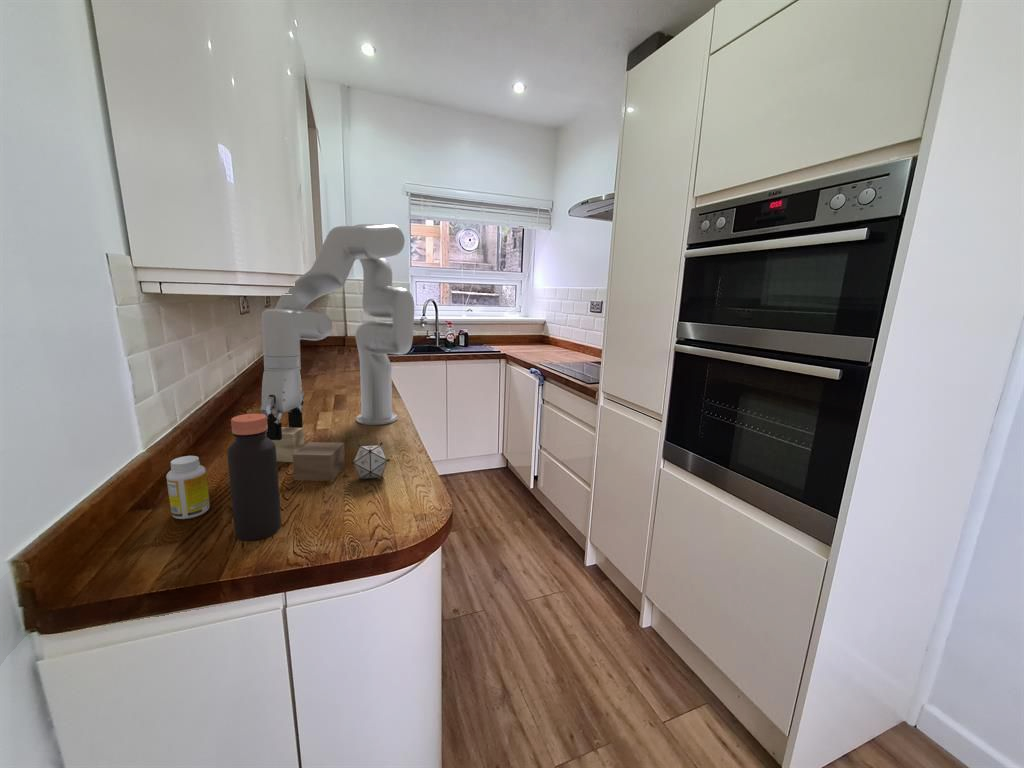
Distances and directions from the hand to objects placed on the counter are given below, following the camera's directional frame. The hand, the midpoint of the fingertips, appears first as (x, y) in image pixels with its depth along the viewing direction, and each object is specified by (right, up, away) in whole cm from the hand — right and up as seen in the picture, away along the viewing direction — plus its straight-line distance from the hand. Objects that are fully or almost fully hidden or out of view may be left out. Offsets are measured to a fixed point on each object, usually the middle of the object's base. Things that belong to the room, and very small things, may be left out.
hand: (285, 433), depth 100 cm
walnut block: (+11, -8, -6) cm, 15 cm away
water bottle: (+11, -13, -29) cm, 34 cm away
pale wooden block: (0, -6, +2) cm, 7 cm away
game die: (+23, -9, -7) cm, 26 cm away
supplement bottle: (-4, -12, -24) cm, 27 cm away
